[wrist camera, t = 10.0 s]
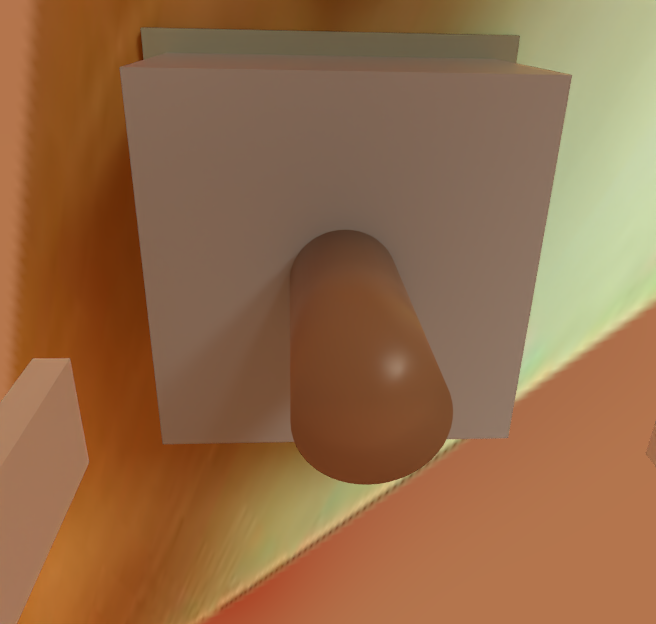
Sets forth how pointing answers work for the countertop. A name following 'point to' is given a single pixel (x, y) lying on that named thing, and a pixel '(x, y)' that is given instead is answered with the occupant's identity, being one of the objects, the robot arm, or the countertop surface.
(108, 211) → the countertop surface
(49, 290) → the countertop surface
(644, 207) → the countertop surface
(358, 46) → the mat
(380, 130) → the cover
